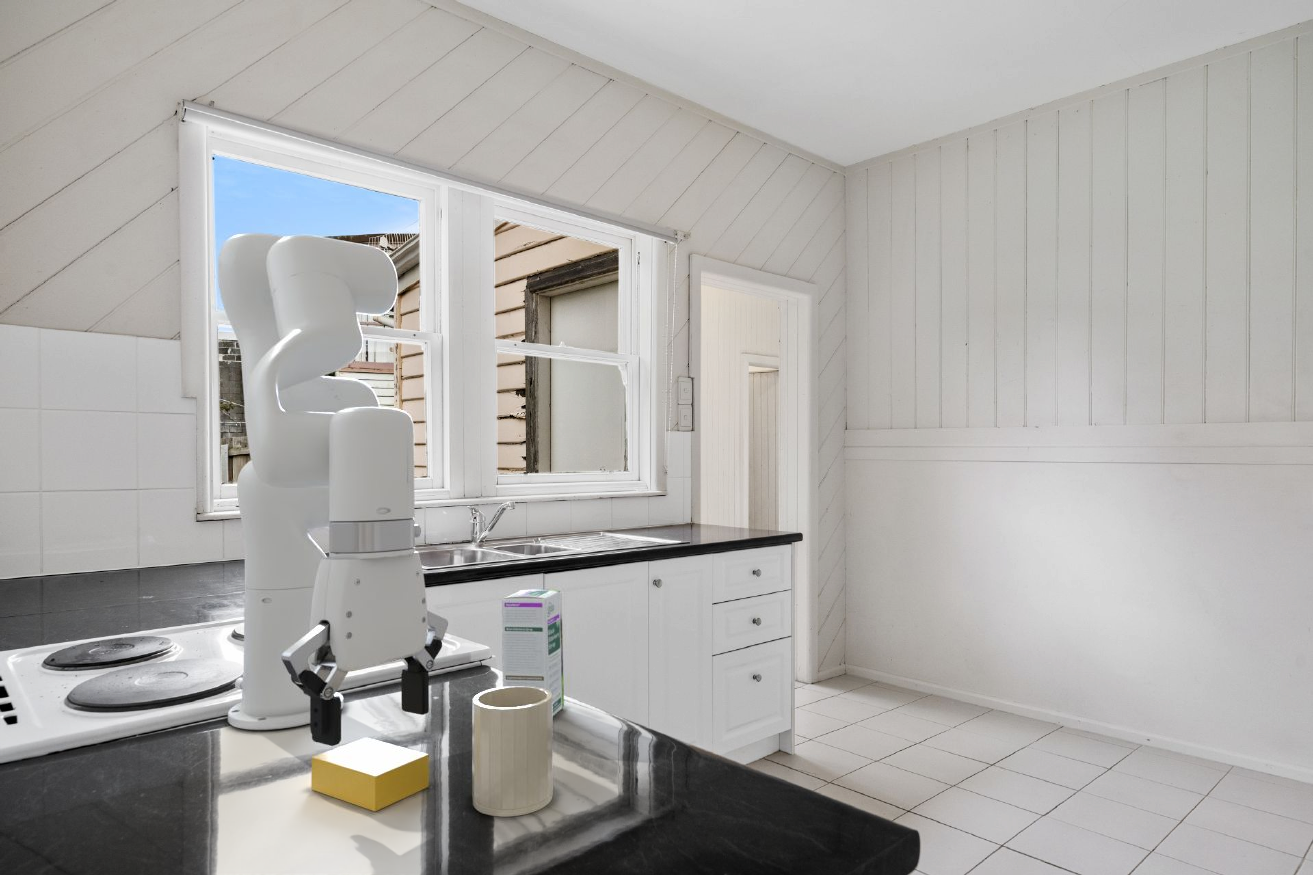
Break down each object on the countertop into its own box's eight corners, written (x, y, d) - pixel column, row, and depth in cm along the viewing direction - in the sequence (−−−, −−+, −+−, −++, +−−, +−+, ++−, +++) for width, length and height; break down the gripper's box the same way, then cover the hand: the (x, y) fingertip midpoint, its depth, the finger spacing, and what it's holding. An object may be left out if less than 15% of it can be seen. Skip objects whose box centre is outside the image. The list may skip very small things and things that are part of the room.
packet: (310, 789, 70) (311, 756, 70) (366, 767, 75) (366, 736, 75) (374, 811, 65) (375, 776, 65) (429, 786, 70) (429, 753, 70)
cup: (455, 804, 66) (455, 701, 67) (510, 777, 72) (510, 681, 73) (515, 824, 63) (515, 713, 63) (568, 792, 69) (568, 692, 69)
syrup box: (548, 723, 88) (548, 596, 88) (500, 720, 89) (500, 595, 89) (564, 707, 93) (564, 589, 94) (519, 705, 94) (519, 588, 95)
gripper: (418, 533, 80) (419, 697, 79) (260, 546, 66) (258, 749, 64) (469, 534, 76) (471, 707, 75) (313, 548, 62) (313, 764, 61)
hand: (373, 726), depth 70 cm, fingers open, 9 cm apart
